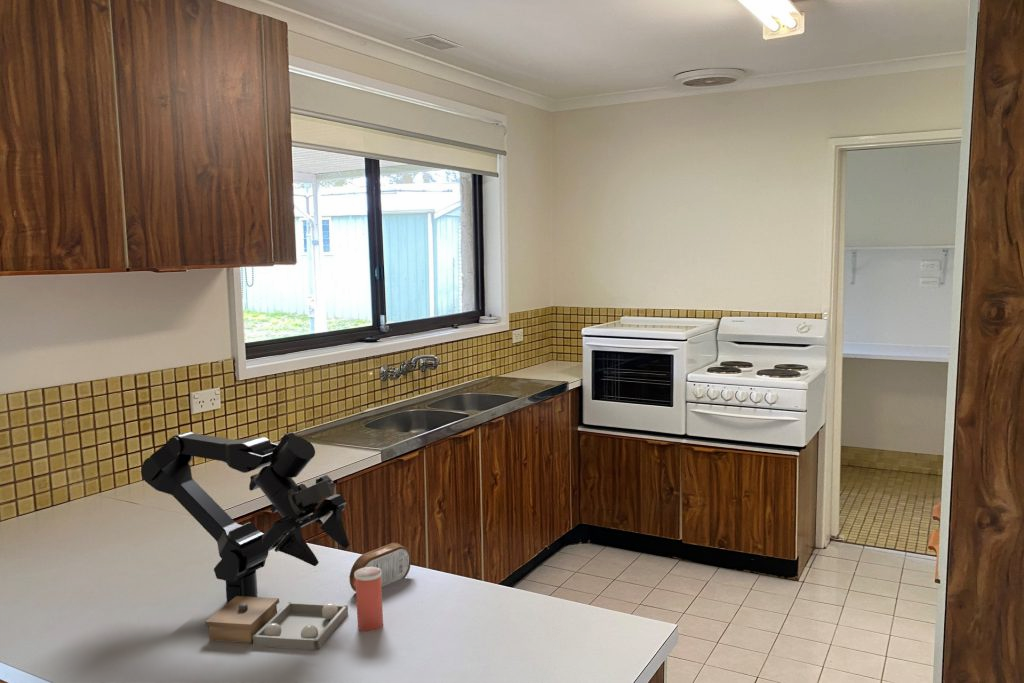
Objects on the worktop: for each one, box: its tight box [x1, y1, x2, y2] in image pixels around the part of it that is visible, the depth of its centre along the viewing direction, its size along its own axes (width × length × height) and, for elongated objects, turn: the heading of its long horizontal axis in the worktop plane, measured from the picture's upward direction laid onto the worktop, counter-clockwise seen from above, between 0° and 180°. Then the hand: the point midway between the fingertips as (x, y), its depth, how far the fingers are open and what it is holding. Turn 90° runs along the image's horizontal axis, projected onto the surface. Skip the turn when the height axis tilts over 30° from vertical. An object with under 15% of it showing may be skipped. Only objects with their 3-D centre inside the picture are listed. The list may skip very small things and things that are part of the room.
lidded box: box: [204, 596, 280, 644], centre depth 147 cm, size 11×9×5 cm
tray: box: [252, 601, 349, 651], centre depth 146 cm, size 14×12×2 cm
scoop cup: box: [354, 567, 384, 632], centre depth 146 cm, size 5×5×11 cm
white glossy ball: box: [301, 625, 318, 639], centre depth 141 cm, size 3×3×3 cm
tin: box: [349, 542, 412, 593], centre depth 165 cm, size 15×3×8 cm, turn 141°
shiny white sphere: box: [264, 623, 282, 636], centre depth 142 cm, size 3×3×3 cm
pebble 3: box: [322, 602, 338, 620], centre depth 149 cm, size 3×3×3 cm
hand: (332, 555), depth 149 cm, fingers open, 9 cm apart
